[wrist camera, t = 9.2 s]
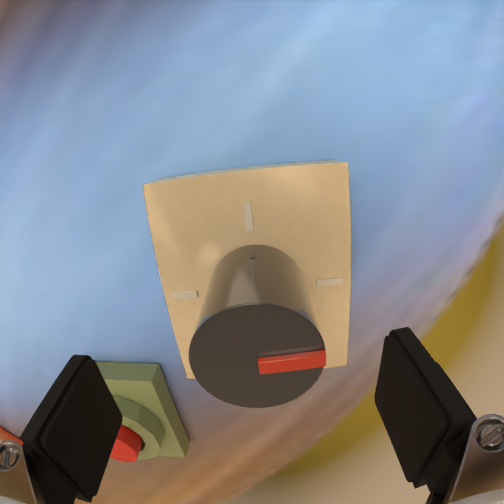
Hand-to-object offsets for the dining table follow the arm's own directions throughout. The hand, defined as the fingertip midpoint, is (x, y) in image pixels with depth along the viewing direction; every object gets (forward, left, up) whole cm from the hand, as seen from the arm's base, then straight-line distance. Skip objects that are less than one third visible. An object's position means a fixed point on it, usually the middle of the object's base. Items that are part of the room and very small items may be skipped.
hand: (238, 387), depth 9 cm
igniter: (+12, -11, -10) cm, 20 cm away
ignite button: (+12, -11, -7) cm, 18 cm away
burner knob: (0, +1, -7) cm, 7 cm away
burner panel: (0, +1, -10) cm, 10 cm away
